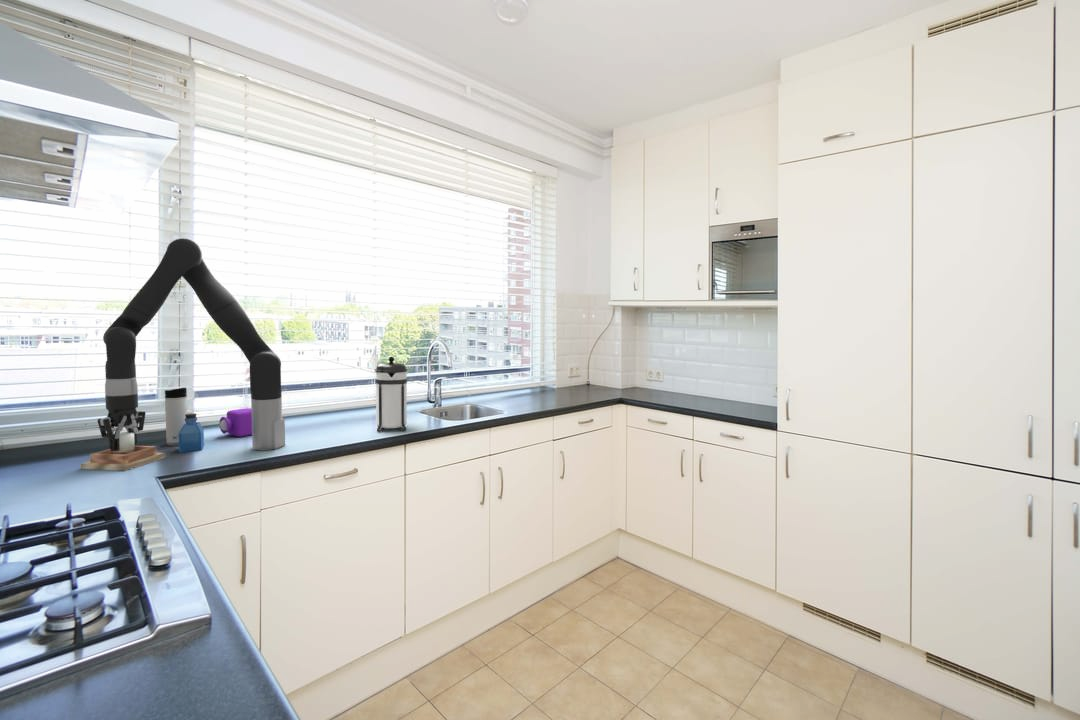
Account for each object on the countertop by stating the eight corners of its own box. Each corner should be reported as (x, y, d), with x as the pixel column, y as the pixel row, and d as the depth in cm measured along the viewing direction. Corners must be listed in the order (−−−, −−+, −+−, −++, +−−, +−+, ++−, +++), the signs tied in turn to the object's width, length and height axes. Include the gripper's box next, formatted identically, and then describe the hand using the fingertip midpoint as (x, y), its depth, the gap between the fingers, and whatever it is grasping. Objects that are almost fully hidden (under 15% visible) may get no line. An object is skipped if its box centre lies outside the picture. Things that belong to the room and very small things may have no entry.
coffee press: (419, 428, 209) (419, 356, 207) (389, 434, 195) (389, 358, 193) (391, 422, 218) (391, 354, 216) (360, 429, 205) (360, 356, 202)
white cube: (139, 448, 154) (138, 432, 154) (124, 452, 149) (123, 436, 148) (123, 447, 154) (122, 431, 154) (107, 452, 149) (107, 435, 149)
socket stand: (165, 457, 158) (164, 445, 158) (125, 470, 144) (125, 457, 144) (124, 456, 159) (123, 443, 159) (80, 468, 145) (80, 455, 145)
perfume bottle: (179, 452, 165) (177, 416, 164) (182, 448, 171) (181, 413, 170) (201, 450, 168) (200, 415, 167) (204, 446, 173) (203, 412, 173)
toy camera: (213, 437, 187) (212, 410, 186) (247, 430, 199) (246, 405, 198) (233, 440, 182) (232, 413, 182) (266, 432, 195) (265, 407, 194)
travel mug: (177, 446, 172) (175, 389, 171) (162, 445, 174) (159, 388, 172) (193, 442, 178) (191, 386, 177) (178, 441, 180) (176, 386, 178)
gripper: (111, 396, 143) (113, 455, 144) (153, 390, 157) (155, 443, 158) (86, 396, 143) (89, 454, 145) (131, 389, 158) (133, 442, 159)
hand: (123, 448), depth 152 cm, fingers closed on white cube, 5 cm apart
